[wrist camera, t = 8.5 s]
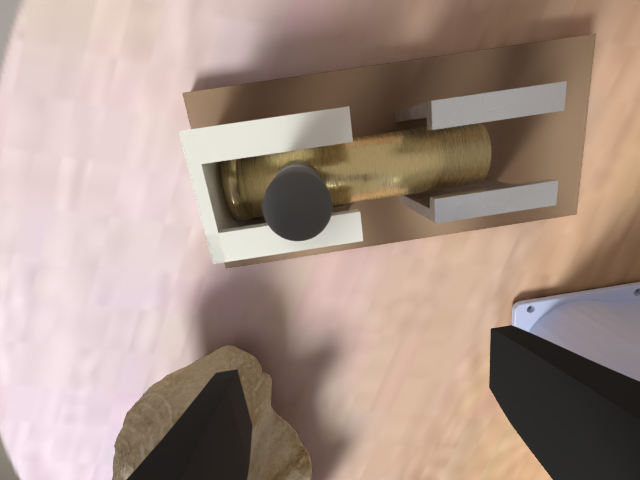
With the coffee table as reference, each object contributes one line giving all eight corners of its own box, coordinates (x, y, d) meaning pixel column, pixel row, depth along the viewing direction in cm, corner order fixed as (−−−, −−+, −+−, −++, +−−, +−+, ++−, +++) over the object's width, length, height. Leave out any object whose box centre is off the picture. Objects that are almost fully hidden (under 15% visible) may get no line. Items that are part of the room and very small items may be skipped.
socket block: (334, 116, 16) (349, 106, 11) (346, 214, 17) (363, 241, 13) (213, 134, 16) (178, 131, 11) (235, 231, 17) (213, 264, 13)
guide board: (578, 39, 16) (714, -10, 11) (562, 210, 19) (665, 237, 14) (189, 95, 16) (134, 72, 11) (229, 261, 19) (201, 310, 13)
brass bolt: (457, 120, 15) (642, 97, 7) (458, 181, 16) (623, 222, 8) (230, 154, 15) (149, 170, 7) (243, 213, 16) (184, 290, 8)
